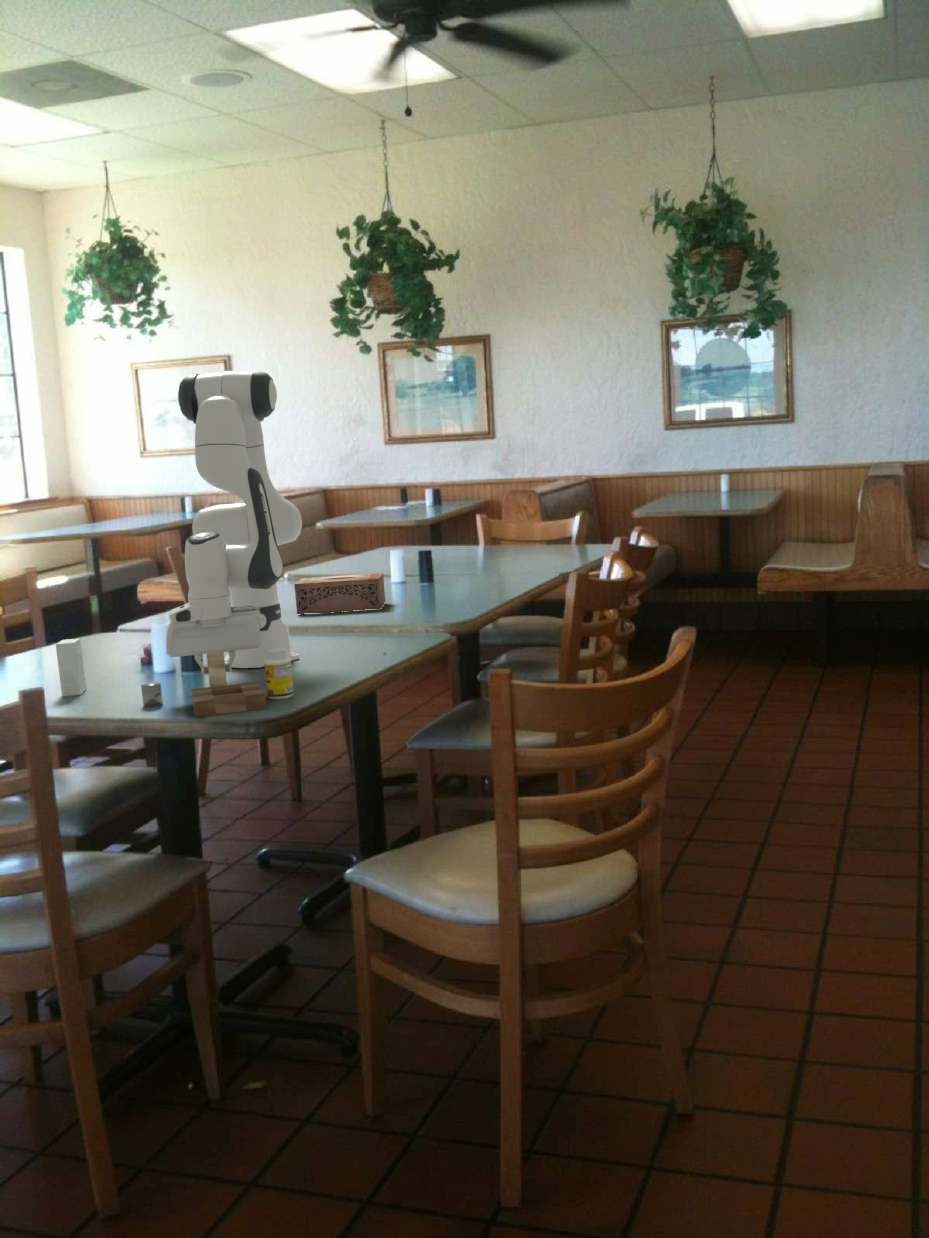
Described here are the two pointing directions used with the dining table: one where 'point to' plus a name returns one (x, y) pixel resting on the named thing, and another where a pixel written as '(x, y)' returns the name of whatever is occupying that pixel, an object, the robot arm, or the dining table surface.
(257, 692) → the hole plate
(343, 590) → the tissue box cover
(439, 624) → the dining table surface
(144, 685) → the short pin
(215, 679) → the long pin
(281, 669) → the supplement bottle
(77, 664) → the skincare box
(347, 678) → the dining table surface
